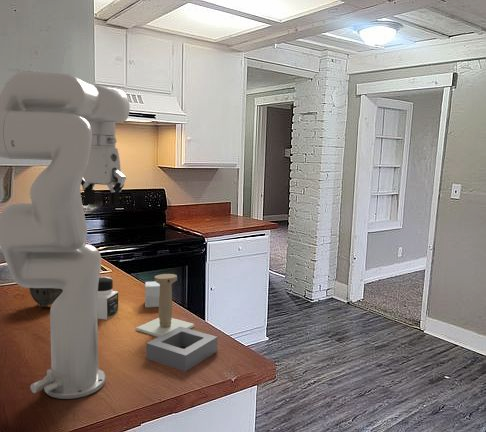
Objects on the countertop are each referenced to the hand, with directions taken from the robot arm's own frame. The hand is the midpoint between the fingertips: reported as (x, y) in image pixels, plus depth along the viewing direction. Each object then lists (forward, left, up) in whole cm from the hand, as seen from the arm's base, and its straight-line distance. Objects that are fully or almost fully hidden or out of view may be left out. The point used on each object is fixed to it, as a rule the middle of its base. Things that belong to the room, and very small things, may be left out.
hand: (101, 205), depth 123 cm
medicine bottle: (+9, +10, -36) cm, 39 cm away
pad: (+12, -13, -36) cm, 40 cm away
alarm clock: (+3, +30, -36) cm, 47 cm away
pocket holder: (+1, -28, -36) cm, 46 cm away
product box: (+26, +4, -37) cm, 45 cm away
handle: (+12, -13, -36) cm, 40 cm away
